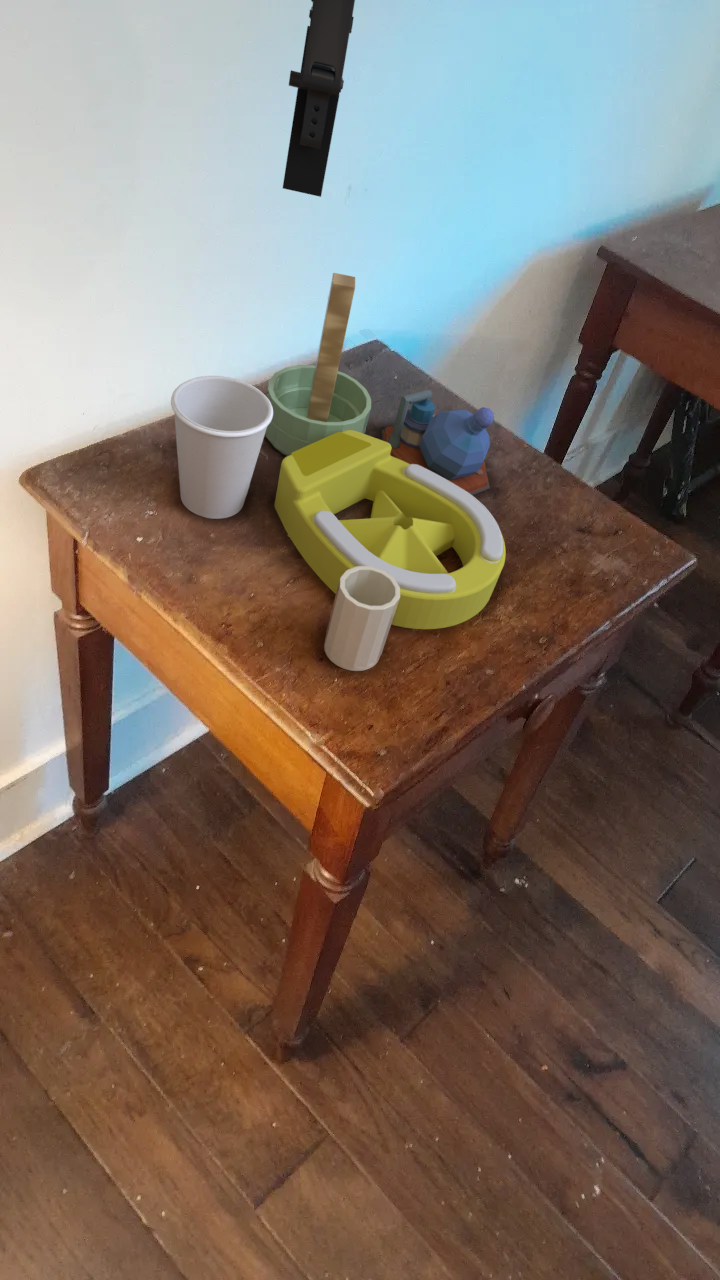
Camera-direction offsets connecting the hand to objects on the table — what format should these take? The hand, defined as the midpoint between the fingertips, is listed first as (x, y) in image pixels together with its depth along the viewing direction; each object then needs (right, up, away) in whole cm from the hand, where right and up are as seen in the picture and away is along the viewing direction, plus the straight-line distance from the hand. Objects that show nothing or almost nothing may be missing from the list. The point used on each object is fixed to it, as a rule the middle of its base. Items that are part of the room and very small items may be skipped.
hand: (306, 155), depth 71 cm
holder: (+3, -37, +5) cm, 37 cm away
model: (+11, -18, +25) cm, 33 cm away
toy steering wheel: (+6, -28, +14) cm, 32 cm away
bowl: (-1, -16, +23) cm, 28 cm away
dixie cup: (-9, -24, +14) cm, 29 cm away
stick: (-1, -16, +23) cm, 28 cm away
